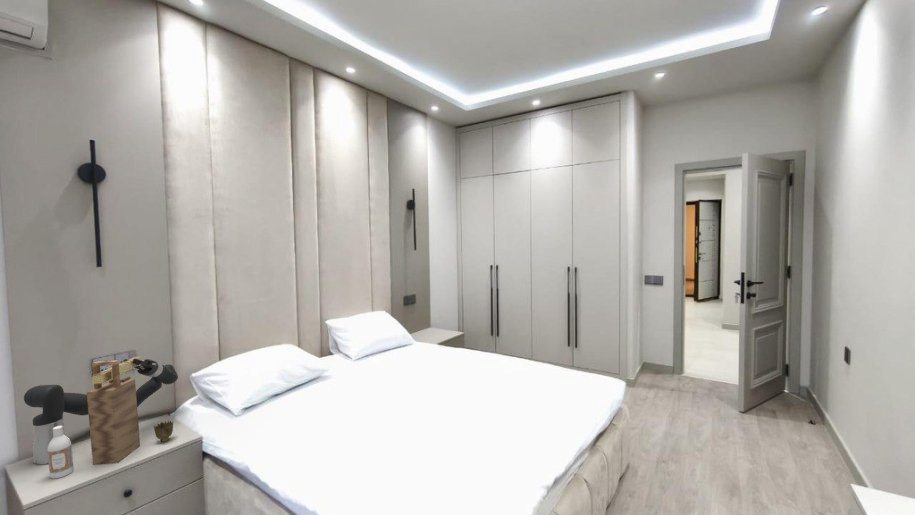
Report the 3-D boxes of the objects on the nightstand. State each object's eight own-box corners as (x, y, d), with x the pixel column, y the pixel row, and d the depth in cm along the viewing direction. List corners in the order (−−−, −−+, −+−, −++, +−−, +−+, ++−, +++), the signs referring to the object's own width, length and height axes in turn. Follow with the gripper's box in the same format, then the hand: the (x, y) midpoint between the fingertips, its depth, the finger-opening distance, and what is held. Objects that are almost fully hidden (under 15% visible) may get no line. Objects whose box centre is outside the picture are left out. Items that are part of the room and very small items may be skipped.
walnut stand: (92, 465, 170) (84, 365, 167) (116, 447, 183) (109, 355, 181) (118, 462, 171) (110, 364, 168) (140, 445, 185) (133, 354, 182)
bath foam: (47, 481, 159) (43, 433, 158) (52, 473, 165) (48, 426, 163) (71, 475, 163) (67, 428, 161) (75, 467, 168) (71, 421, 167)
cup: (166, 444, 185) (165, 428, 185) (151, 445, 185) (149, 428, 185) (178, 436, 192) (176, 420, 192) (163, 436, 193) (161, 420, 192)
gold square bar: (93, 383, 167) (92, 375, 166) (134, 364, 192) (134, 356, 192) (102, 383, 167) (101, 375, 167) (142, 363, 193) (142, 356, 193)
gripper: (163, 374, 200) (143, 368, 185) (133, 376, 199) (109, 370, 183) (167, 360, 204) (147, 352, 189) (137, 361, 202) (114, 354, 187)
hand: (129, 361), depth 186 cm, fingers closed on gold square bar, 3 cm apart
